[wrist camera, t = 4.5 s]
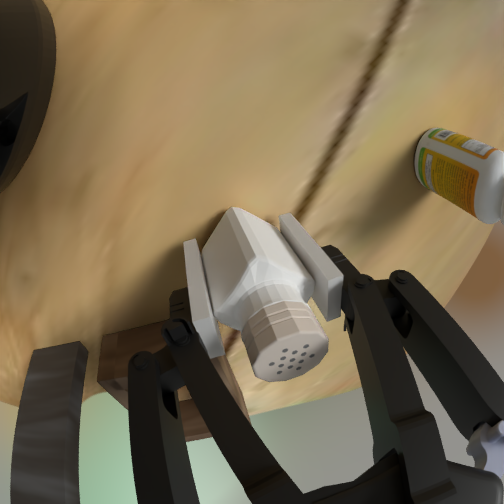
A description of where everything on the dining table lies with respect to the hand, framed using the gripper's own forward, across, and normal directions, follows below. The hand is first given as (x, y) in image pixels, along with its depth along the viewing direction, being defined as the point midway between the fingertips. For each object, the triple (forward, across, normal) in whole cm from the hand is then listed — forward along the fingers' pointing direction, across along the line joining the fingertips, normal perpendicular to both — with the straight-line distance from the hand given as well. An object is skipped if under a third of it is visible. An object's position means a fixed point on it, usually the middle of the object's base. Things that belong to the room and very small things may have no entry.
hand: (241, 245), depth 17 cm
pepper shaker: (+1, 0, 0) cm, 1 cm away
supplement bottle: (+1, +17, +3) cm, 17 cm away
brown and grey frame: (+1, -12, -12) cm, 17 cm away
